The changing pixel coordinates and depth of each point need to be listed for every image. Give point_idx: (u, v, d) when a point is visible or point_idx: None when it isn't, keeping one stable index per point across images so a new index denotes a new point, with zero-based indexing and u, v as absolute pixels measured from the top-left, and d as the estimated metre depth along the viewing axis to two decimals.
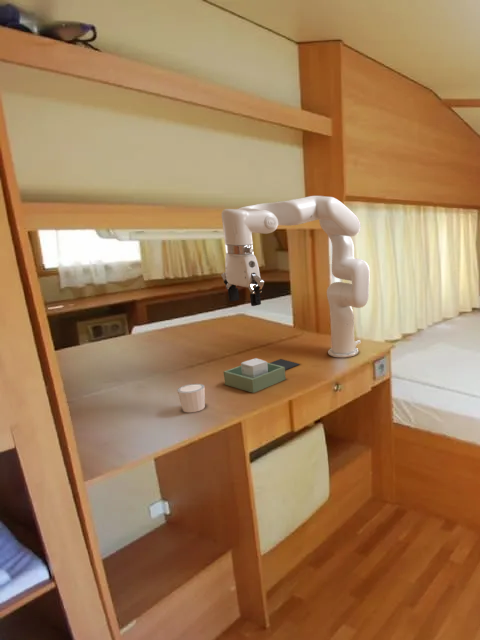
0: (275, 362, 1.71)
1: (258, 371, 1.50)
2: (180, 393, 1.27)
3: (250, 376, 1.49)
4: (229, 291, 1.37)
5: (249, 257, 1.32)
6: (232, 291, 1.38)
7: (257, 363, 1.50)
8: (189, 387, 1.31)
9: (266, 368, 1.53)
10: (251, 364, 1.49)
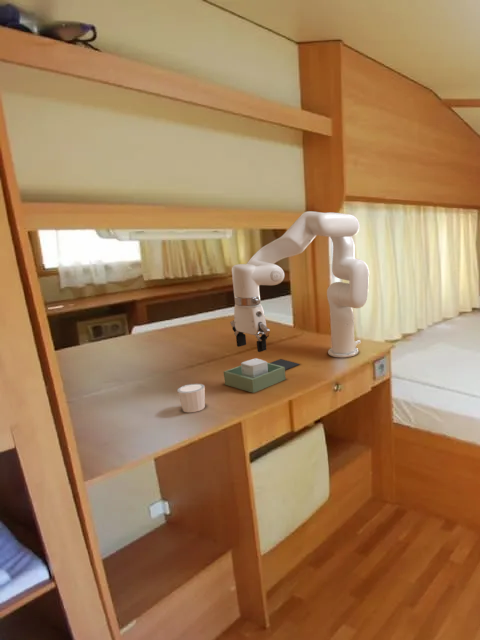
0: (275, 362, 1.71)
1: (258, 371, 1.50)
2: (180, 393, 1.27)
3: (250, 376, 1.49)
4: (237, 337, 1.48)
5: (256, 308, 1.43)
6: (240, 337, 1.49)
7: (257, 363, 1.50)
8: (189, 387, 1.31)
9: (266, 368, 1.53)
10: (251, 364, 1.49)
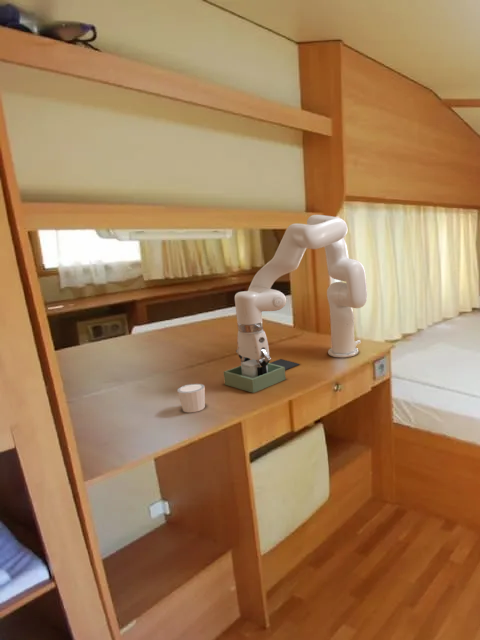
0: (275, 362, 1.71)
1: None
2: (180, 393, 1.27)
3: (250, 376, 1.49)
4: None
5: (259, 334, 1.46)
6: None
7: None
8: (189, 387, 1.31)
9: (266, 368, 1.53)
10: (251, 364, 1.49)
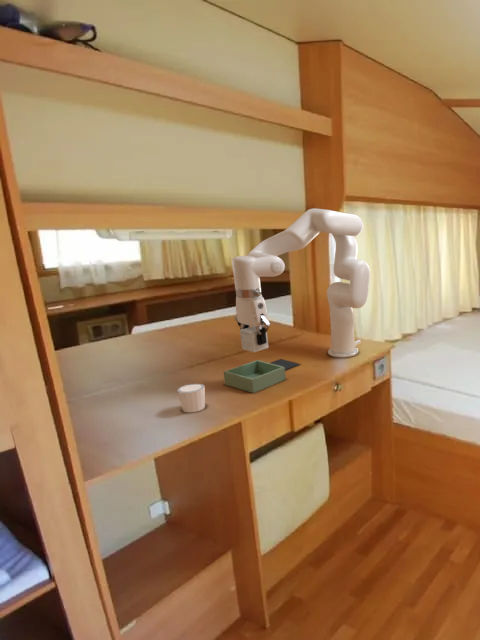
0: (275, 362, 1.71)
1: None
2: (180, 393, 1.27)
3: (249, 343, 1.47)
4: None
5: (258, 300, 1.43)
6: None
7: (256, 330, 1.48)
8: (189, 387, 1.31)
9: (266, 336, 1.50)
10: (250, 331, 1.46)
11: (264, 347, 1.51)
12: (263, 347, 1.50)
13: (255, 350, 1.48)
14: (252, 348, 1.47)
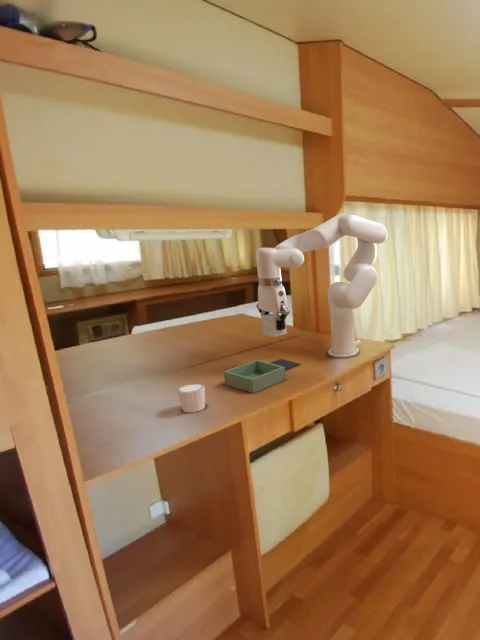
0: (275, 362, 1.71)
1: None
2: (180, 393, 1.27)
3: (270, 328, 1.59)
4: None
5: (278, 288, 1.55)
6: None
7: (276, 316, 1.59)
8: (189, 387, 1.31)
9: None
10: (270, 317, 1.58)
11: (282, 332, 1.62)
12: (282, 332, 1.62)
13: (275, 335, 1.59)
14: (273, 333, 1.59)
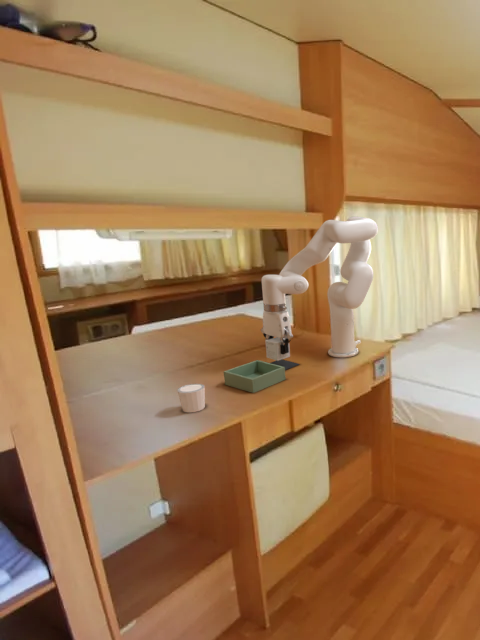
0: (275, 362, 1.71)
1: None
2: (180, 393, 1.27)
3: (274, 352, 1.63)
4: None
5: (283, 314, 1.60)
6: None
7: (280, 341, 1.64)
8: (189, 387, 1.31)
9: (288, 346, 1.67)
10: (274, 341, 1.63)
11: (286, 356, 1.67)
12: (285, 356, 1.67)
13: (278, 359, 1.64)
14: (276, 357, 1.63)
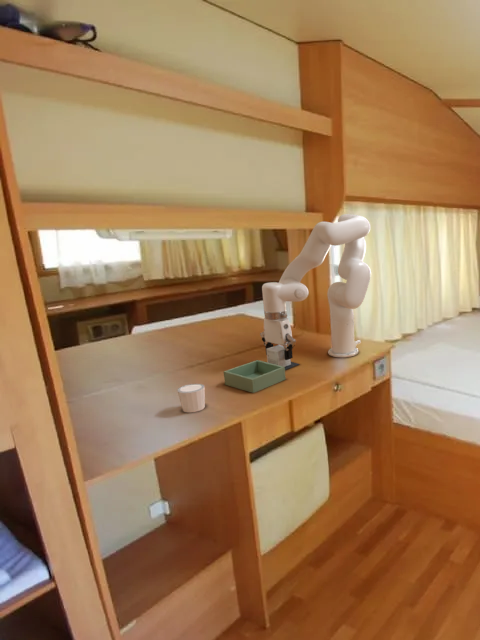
0: None
1: (282, 356, 1.65)
2: (180, 393, 1.27)
3: (275, 361, 1.64)
4: (266, 347, 1.67)
5: (284, 321, 1.61)
6: (269, 347, 1.67)
7: (281, 349, 1.65)
8: (189, 387, 1.31)
9: None
10: (275, 350, 1.64)
11: (287, 364, 1.68)
12: (286, 364, 1.68)
13: None
14: None
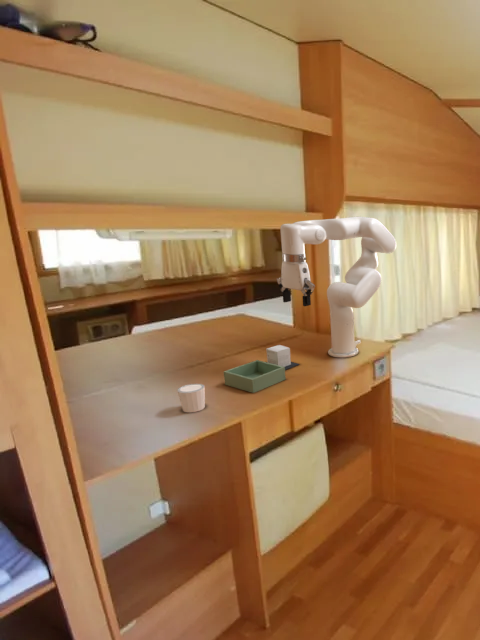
0: None
1: (282, 356, 1.65)
2: (180, 393, 1.27)
3: (275, 361, 1.64)
4: (283, 293, 1.60)
5: (302, 264, 1.54)
6: (286, 293, 1.61)
7: (281, 349, 1.65)
8: (189, 387, 1.31)
9: (289, 354, 1.68)
10: (275, 350, 1.64)
11: (287, 364, 1.68)
12: (286, 364, 1.68)
13: None
14: None
